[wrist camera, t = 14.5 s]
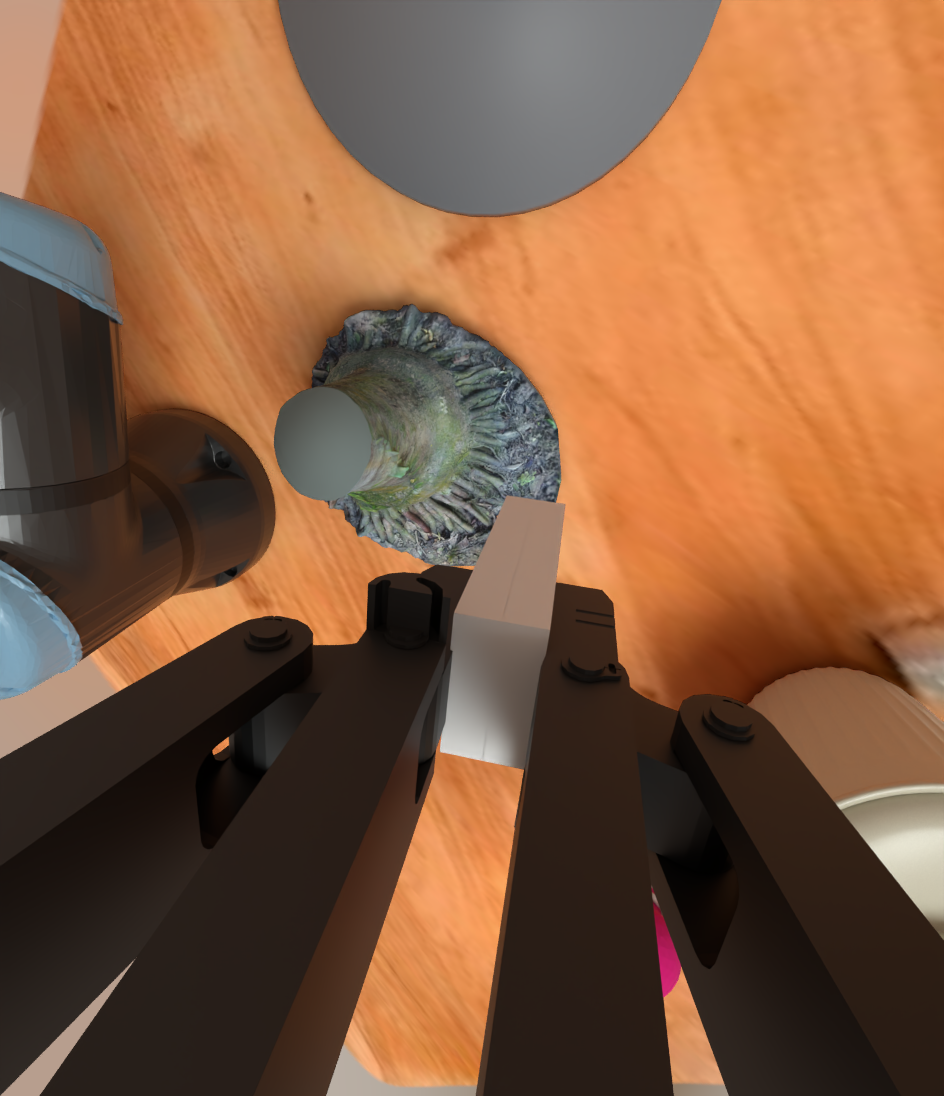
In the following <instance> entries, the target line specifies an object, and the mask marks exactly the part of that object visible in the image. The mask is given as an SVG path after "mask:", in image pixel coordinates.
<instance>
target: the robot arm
mask: <svg viewBox="0 0 944 1096" xmlns="http://www.w3.org/2000/svg"><path fill="white" fill-rule="evenodd" d="M120 325H123V317H122V316H121V314H120V312H119V311H118V308H117V301H116V293H115V285H114V278H113V270H112V262H111V258H110V255H109V252H108V250H107V248H106V246H105V244H104V243H103V241H102V240H101V239H100V237H99V236H98V235H97V234H96V233H95V232H94V231H93V230H91V229H90V228H89V227H88V226H86V225H85V224H83V223H81V222H80V221H78V220H76V219H74V218H72V217H70V216H67V215H65V214H62V213H59V212H57V211H54V210H52V209H49V208H46V207H44V206H41V205H37V204H35V203H32V202H29V201H26V200H23V199H20V198H17V197H14V196H11V195H7V194H4V193H2V192H0V700H1V699H6V698H11V697H14V696H17V695H20V694H22V693H25V692H27V691H29V690H30V689H32V688H34V687H36V686H37V685H39V684H41V683H42V682H44V681H46V680H48V679H49V678H51V677H52V676H54V675H56V674H58V673H62V672H65V671H68V670H70V669H71V668H72V667H74V666H75V665H77V663H78V662H79V661H81V660H82V659H84V658H85V657H87V656H88V655H89V654H91V653H92V652H94V651H95V650H96V649H98V648H99V647H101V646H102V645H104V644H105V643H106V642H108V641H109V640H111V639H112V638H114V637H115V636H116V635H118V634H119V633H121V632H122V631H123V630H125V629H126V628H128V627H129V626H131V625H132V624H133V623H135V622H136V621H138V620H139V619H140V618H142V617H143V616H145V615H146V614H148V613H149V612H150V611H152V610H153V609H155V608H156V607H157V606H159V605H160V604H162V603H163V602H164V601H166V600H167V599H169V598H170V597H172V596H175V595H180V594H185V593H190V592H195V591H200V590H206V589H211V588H215V587H219V586H222V585H224V584H227V583H229V582H231V581H233V580H235V579H236V578H238V577H239V576H241V575H242V574H243V573H245V572H246V571H247V570H249V569H250V568H251V567H253V566H254V565H255V564H256V563H257V562H258V561H259V560H260V559H261V557H262V556H263V555H264V553H265V552H266V550H267V548H268V546H269V544H270V542H271V539H272V535H273V531H274V526H275V503H274V497H273V492H272V489H271V486H270V483H269V480H268V477H267V475H266V473H265V471H264V469H263V467H262V465H261V463H260V462H259V460H258V459H257V457H256V456H255V454H254V453H253V452H252V450H251V449H250V448H249V447H248V445H247V444H246V443H245V442H244V441H243V440H242V439H241V438H240V437H239V436H238V435H237V434H235V433H234V432H233V431H232V430H230V429H229V428H228V427H226V426H225V425H223V424H222V423H220V422H218V421H217V420H215V419H213V418H211V417H209V416H206V415H204V414H201V413H198V412H194V411H190V410H183V409H165V410H159V411H155V412H150V413H146V414H142V415H138V416H136V417H133V418H131V419H129V420H127V416H126V401H125V387H124V372H123V358H122V343H121V329H120ZM564 512H565V504H561V503H554V502H547V501H541V500H534V499H528V498H521V497H514V496H508V495H507V497H506V499H505V501H504V503H503V505H502V508H501V510H500V512H499V514H498V517H497V519H496V521H495V523H494V525H493V528H492V530H491V532H490V534H489V536H488V539H487V541H486V543H485V545H484V547H483V550H482V552H481V554H480V556H479V559H478V561H477V563H476V565H475V567H474V570H469V569H463V568H457V567H451V566H445V565H439V564H437V565H435V566H433V567H431V568H429V569H427V570H425V571H423V572H422V573H421V574H418V573H406V572H403V573H391V574H387V575H383V576H380V577H377V578H375V579H374V580H372V581H371V582H370V583H368V602H367V629H366V631H365V632H364V634H363V635H362V637H361V638H360V639H359V641H358V642H357V643H355V644H348V645H313V633H312V631H311V630H310V628H309V627H308V626H307V625H306V624H304V623H302V622H300V621H298V620H295V619H290V618H285V617H281V616H275V617H273V616H265V617H262V618H257V619H251V620H248V621H245V622H243V623H241V624H238V625H236V626H234V627H232V628H230V629H229V630H227V631H225V632H223V633H221V634H220V635H218V636H216V637H214V638H213V639H211V640H209V641H207V642H206V643H204V644H202V645H200V646H199V647H197V648H195V649H193V650H191V651H190V652H188V653H186V654H184V655H183V656H181V657H179V658H177V659H176V660H174V661H172V662H170V663H168V664H167V665H165V666H163V667H161V668H160V669H158V670H156V671H154V672H153V673H151V674H149V675H147V676H146V677H144V678H142V679H140V680H138V681H137V682H135V683H133V684H131V685H130V686H128V687H126V688H124V689H123V690H121V691H119V692H117V693H116V694H114V695H112V696H110V697H109V698H107V699H105V700H103V701H101V702H100V703H98V704H96V705H94V706H93V707H91V708H89V709H87V710H86V711H84V712H82V713H80V714H78V715H77V716H75V717H73V718H71V719H70V720H68V721H66V722H64V723H63V724H61V725H59V726H57V727H56V728H54V729H52V730H50V731H49V732H47V733H45V734H43V735H42V736H40V737H38V738H36V739H34V740H33V741H31V742H29V743H27V744H25V745H24V746H22V747H20V748H18V749H17V750H15V751H13V752H11V753H10V754H8V755H6V756H4V757H3V758H1V759H0V1095H1V1094H2V1093H3V1092H4V1091H5V1090H6V1089H7V1088H8V1087H9V1086H10V1085H11V1084H12V1083H13V1082H14V1081H15V1080H16V1079H17V1078H18V1077H19V1076H20V1075H21V1074H22V1073H23V1072H24V1071H25V1070H26V1069H27V1068H28V1067H29V1066H30V1065H31V1064H32V1063H33V1062H34V1061H35V1060H36V1059H37V1058H38V1057H39V1056H40V1055H41V1054H42V1053H43V1052H44V1051H45V1050H46V1049H47V1048H48V1047H49V1046H50V1045H51V1044H52V1042H54V1041H55V1040H56V1039H57V1037H58V1036H59V1035H60V1034H61V1033H62V1032H63V1031H64V1030H65V1029H66V1028H67V1027H68V1026H69V1025H70V1024H71V1023H72V1022H73V1021H74V1020H75V1019H76V1018H77V1017H78V1016H79V1015H80V1014H81V1013H82V1012H83V1011H84V1010H85V1009H86V1008H87V1007H88V1006H89V1005H90V1004H91V1003H92V1002H93V1001H94V1000H95V999H96V998H97V997H98V996H99V995H100V994H101V993H102V992H103V991H104V990H105V989H106V988H107V987H108V986H109V984H111V983H112V982H113V981H114V979H116V978H117V977H118V975H120V973H121V972H123V971H124V970H125V968H126V967H127V966H128V965H129V964H130V963H131V962H132V961H133V960H134V959H135V958H136V957H137V958H136V959H135V960H134V962H133V963H132V965H131V966H130V968H129V969H128V970H127V972H126V973H125V975H124V976H123V978H122V979H121V980H120V982H119V983H118V985H117V986H116V987H115V989H114V990H113V992H112V993H111V995H110V996H109V997H108V999H107V1000H106V1002H105V1003H104V1005H103V1006H102V1008H101V1009H100V1010H99V1012H98V1013H97V1015H96V1016H95V1017H94V1019H93V1020H92V1022H91V1023H90V1025H89V1026H88V1028H87V1029H86V1030H85V1032H84V1033H83V1035H82V1036H81V1037H80V1039H79V1040H78V1042H77V1043H76V1045H75V1046H74V1047H73V1049H72V1050H71V1052H70V1053H69V1055H68V1056H67V1057H66V1059H65V1060H64V1062H63V1063H62V1065H61V1066H60V1068H59V1069H58V1070H57V1072H56V1073H55V1075H54V1076H53V1077H52V1079H51V1080H50V1082H49V1083H48V1084H47V1086H46V1087H45V1089H44V1090H43V1092H42V1093H41V1094H40V1096H326V1094H327V1091H328V1088H329V1085H330V1082H331V1079H332V1076H333V1073H334V1070H335V1067H336V1064H337V1061H338V1058H339V1055H340V1052H341V1049H342V1046H343V1043H344V1040H345V1037H346V1034H347V1031H348V1028H349V1025H350V1022H351V1019H352V1016H353V1013H354V1010H355V1007H356V1004H357V1001H358V998H359V995H360V992H361V989H362V986H363V983H364V980H365V977H366V974H367V971H368V968H369V965H370V962H371V959H372V956H373V953H374V950H375V947H376V944H377V941H378V938H379V935H380V932H381V929H382V926H383V923H384V920H385V917H386V915H387V912H388V909H389V906H390V903H391V900H392V897H393V894H394V891H395V888H396V885H397V882H398V879H399V876H400V873H401V870H402V867H403V864H404V861H405V858H406V855H407V852H408V849H409V846H410V843H411V840H412V837H413V834H414V831H415V828H416V825H417V822H418V819H419V816H420V813H421V810H422V807H423V804H424V801H425V798H426V795H427V792H428V789H429V786H430V783H431V780H432V777H433V774H434V764H435V754H436V748H437V745H438V742H439V739H440V736H441V734H442V736H441V746H440V752H443V753H448V754H453V755H458V756H463V757H467V758H472V759H477V760H482V761H486V762H491V763H496V764H501V765H505V766H510V767H515V768H520V769H524V773H523V779H522V785H521V791H520V797H519V803H518V808H517V814H516V820H515V826H514V827H515V832H514V839H513V845H512V852H511V859H510V866H509V873H508V879H507V886H506V893H505V900H504V907H503V913H502V920H501V927H500V934H499V941H498V947H497V954H496V961H495V968H494V975H493V982H492V988H491V995H490V1002H489V1009H488V1016H487V1022H486V1029H485V1036H484V1043H483V1050H482V1056H481V1063H480V1070H479V1077H478V1084H477V1091H476V1096H674V1093H673V1084H672V1075H671V1065H670V1056H669V1047H668V1037H667V1028H666V1019H665V1009H664V1000H663V991H662V981H661V972H660V963H659V953H658V944H657V935H656V925H655V916H654V907H653V897H652V888H653V891H654V893H655V896H656V899H657V901H658V904H659V907H660V910H661V912H662V915H663V918H664V920H665V923H666V926H667V929H668V931H669V934H670V937H671V939H672V942H673V945H674V948H675V950H676V953H677V956H678V959H679V961H680V964H681V967H682V969H683V972H684V975H685V978H686V980H687V983H688V986H689V988H690V991H691V994H692V997H693V999H694V1002H695V1005H696V1008H697V1010H698V1013H699V1016H700V1018H701V1021H702V1024H703V1027H704V1029H705V1032H706V1035H707V1037H708V1040H709V1043H710V1046H711V1048H712V1051H713V1054H714V1057H715V1059H716V1062H717V1065H718V1067H719V1070H720V1073H721V1076H722V1078H723V1081H724V1084H725V1086H726V1089H727V1092H728V1094H729V1096H944V940H943V939H942V937H941V936H940V935H939V933H938V932H937V931H936V930H935V928H934V927H933V926H932V925H931V923H930V922H929V921H928V920H927V918H926V917H925V916H924V915H923V913H922V912H921V911H920V909H919V908H918V907H917V906H916V904H915V903H914V902H913V901H912V899H911V898H910V897H909V896H908V894H907V893H906V892H905V891H904V889H903V888H902V887H901V885H900V884H899V883H898V882H897V880H896V879H895V878H894V877H893V875H892V874H891V873H890V872H889V870H888V869H887V868H886V867H885V865H884V864H883V863H882V861H881V860H880V859H879V858H878V856H877V855H876V854H875V853H874V851H873V850H872V849H871V848H870V846H869V845H868V844H867V843H866V841H865V840H864V839H863V837H862V836H861V835H860V834H859V832H858V831H857V830H856V829H855V827H854V826H853V825H852V824H851V822H850V821H849V820H848V819H847V817H846V816H845V815H844V813H843V812H842V811H841V810H840V808H839V807H838V806H837V805H836V803H835V802H834V801H833V800H832V798H831V797H830V796H829V795H828V793H827V792H826V791H825V790H824V788H823V787H822V786H821V784H820V783H819V782H818V781H817V779H816V778H815V777H814V776H813V774H812V773H811V772H810V771H809V769H808V768H807V767H806V766H805V764H804V763H803V762H802V760H801V759H800V758H799V757H798V755H797V754H796V753H795V752H794V750H793V749H792V748H791V747H790V745H789V744H788V743H787V742H786V740H785V739H784V738H783V736H782V735H781V734H780V733H779V731H778V730H777V729H776V728H775V726H774V725H773V724H772V723H771V722H770V721H769V720H767V719H766V718H765V717H764V716H763V715H762V714H761V713H759V712H758V711H756V710H754V709H753V708H751V707H749V706H747V705H746V704H744V703H742V702H740V701H738V700H733V699H732V698H729V697H725V696H717V695H711V694H703V695H693V696H691V697H689V698H687V699H685V700H683V702H682V704H681V706H680V709H679V712H678V711H675V710H673V709H670V708H668V707H665V706H663V705H660V704H658V703H655V702H653V701H651V700H649V699H647V698H645V697H643V696H642V695H640V694H639V693H637V692H636V691H634V690H633V689H632V688H631V687H630V683H629V677H628V674H627V672H626V670H625V668H624V667H623V666H622V665H621V664H620V663H619V662H618V653H617V641H616V630H615V618H614V607H613V602H612V601H611V600H610V599H609V597H608V596H607V595H606V594H605V593H604V592H603V591H602V590H598V589H593V588H587V587H581V586H575V585H569V584H563V583H557V582H556V577H557V569H558V561H559V553H560V545H561V536H562V528H563V520H564ZM227 737H229V746H227V747H226V748H225V749H223V750H222V751H221V752H219V753H217V754H215V755H213V752H212V750H213V749H214V748H215V747H216V746H217V745H218V744H220V743H221V742H222V741H224V740H225V739H226V738H227ZM651 885H652V888H651Z"/></svg>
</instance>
